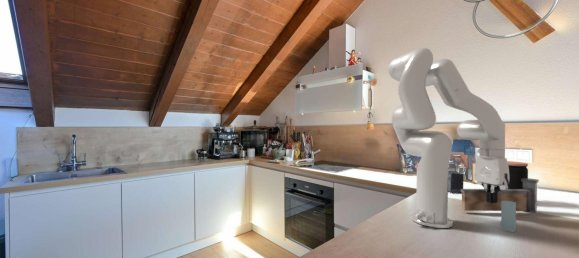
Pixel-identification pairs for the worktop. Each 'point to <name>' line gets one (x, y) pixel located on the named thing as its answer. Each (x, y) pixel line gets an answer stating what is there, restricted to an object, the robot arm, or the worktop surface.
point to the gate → (477, 199)
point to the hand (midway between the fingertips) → (491, 202)
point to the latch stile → (508, 216)
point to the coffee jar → (517, 174)
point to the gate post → (531, 185)
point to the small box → (455, 182)
